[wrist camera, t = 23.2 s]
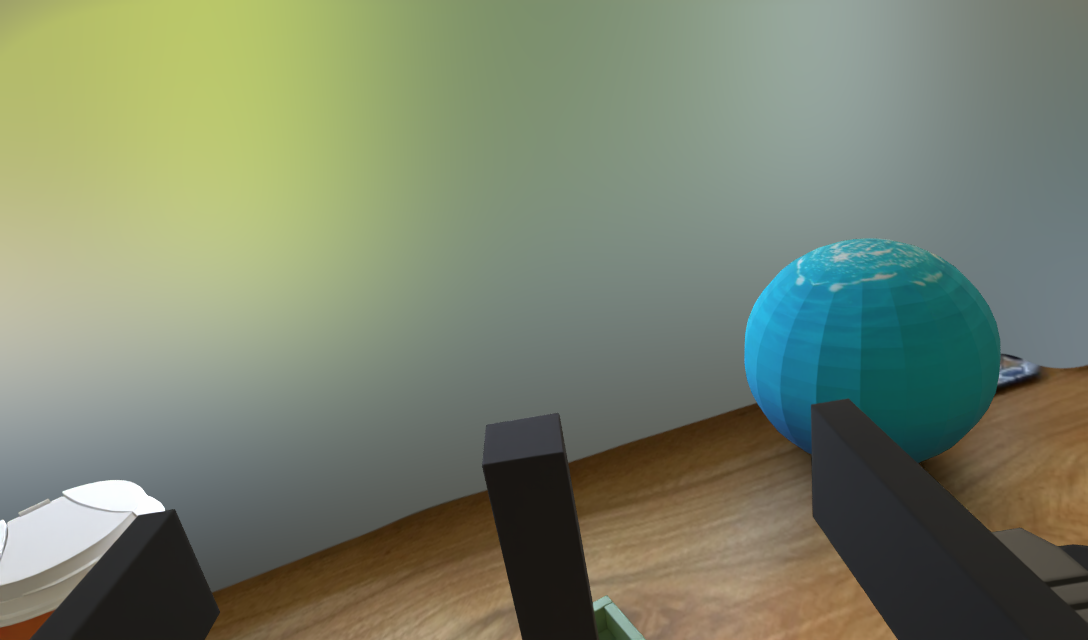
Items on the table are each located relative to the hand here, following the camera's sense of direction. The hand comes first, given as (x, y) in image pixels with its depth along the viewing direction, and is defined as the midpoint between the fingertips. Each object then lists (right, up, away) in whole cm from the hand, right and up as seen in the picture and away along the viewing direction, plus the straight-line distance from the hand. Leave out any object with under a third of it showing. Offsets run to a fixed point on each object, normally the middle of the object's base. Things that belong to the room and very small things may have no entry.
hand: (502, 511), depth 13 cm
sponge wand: (+3, -15, +12) cm, 20 cm away
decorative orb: (+23, -5, +32) cm, 40 cm away
